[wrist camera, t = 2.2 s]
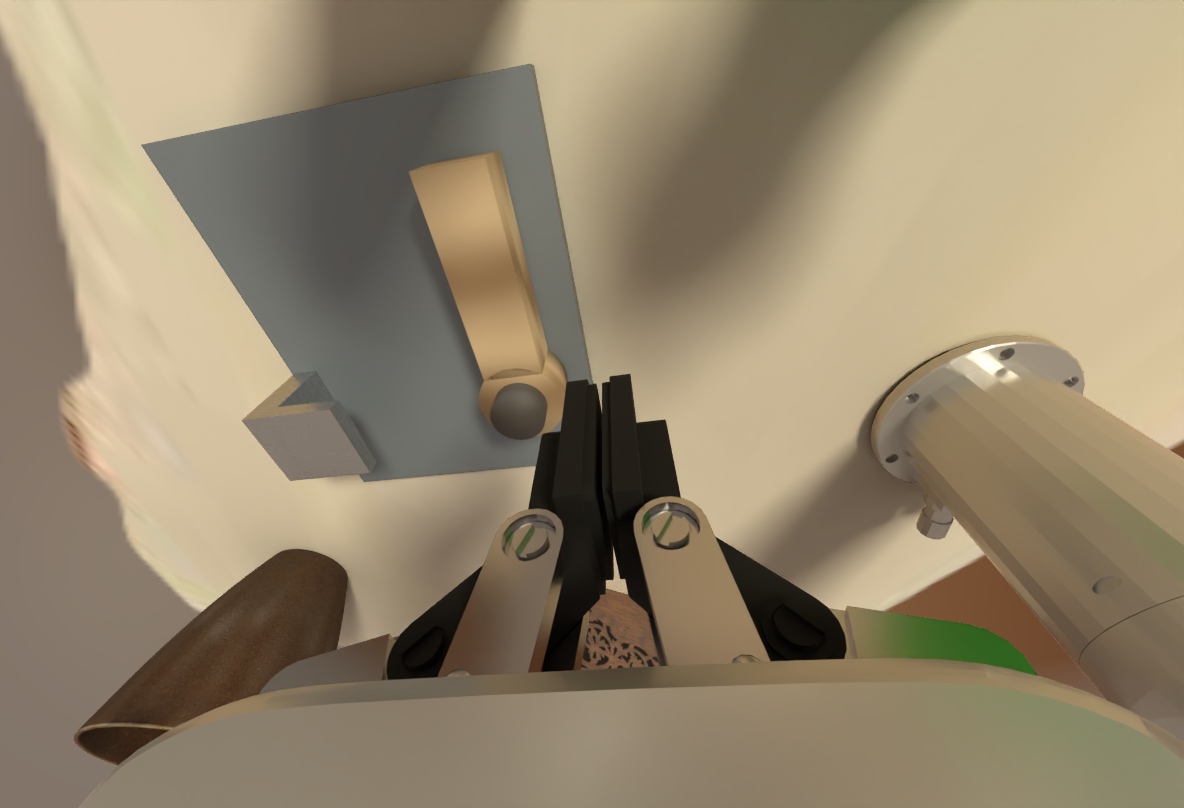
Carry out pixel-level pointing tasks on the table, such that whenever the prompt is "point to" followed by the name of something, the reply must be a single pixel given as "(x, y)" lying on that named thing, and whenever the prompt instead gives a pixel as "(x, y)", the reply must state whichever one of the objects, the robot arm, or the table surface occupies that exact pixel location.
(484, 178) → the link
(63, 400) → the table surface
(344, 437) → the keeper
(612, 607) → the tissue box cover
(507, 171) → the board
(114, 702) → the plant pot
